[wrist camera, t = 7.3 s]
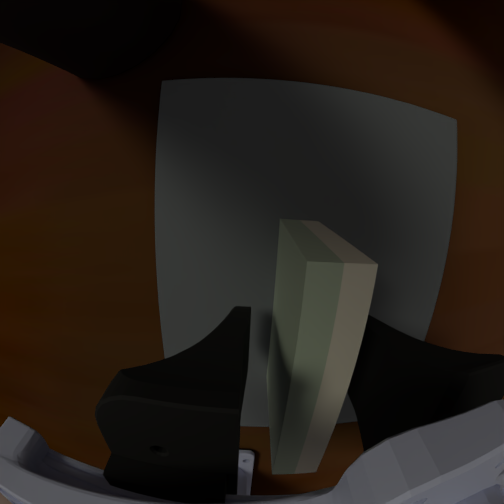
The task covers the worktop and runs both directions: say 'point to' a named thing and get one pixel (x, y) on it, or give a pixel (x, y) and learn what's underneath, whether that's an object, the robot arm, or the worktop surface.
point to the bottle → (88, 32)
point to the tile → (313, 339)
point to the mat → (294, 203)
